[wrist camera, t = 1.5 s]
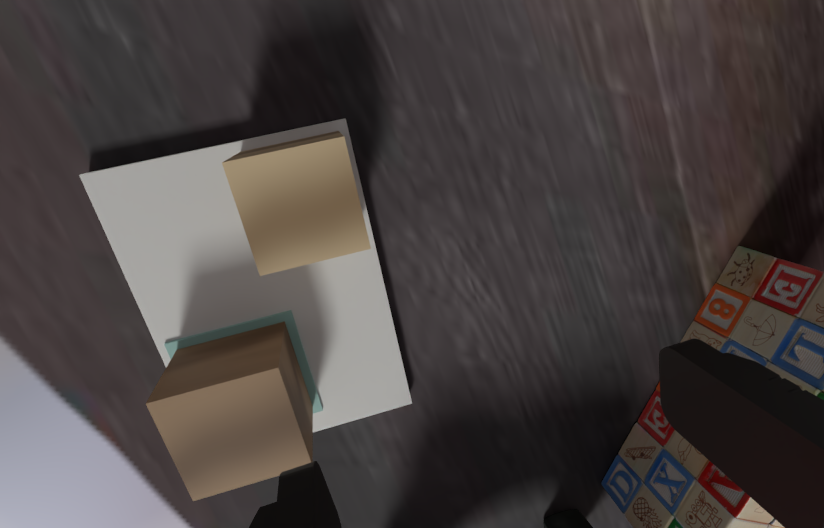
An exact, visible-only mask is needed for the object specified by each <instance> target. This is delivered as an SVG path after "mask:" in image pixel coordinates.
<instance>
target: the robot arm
mask: <svg viewBox="0 0 824 528" xmlns="http://www.w3.org/2000/svg"><path fill="white" fill-rule="evenodd" d="M659 373H660V401H661V407H662V410H663V413H664V415H665V417H666V419H667V421H668V422H669V424H670V425H671V426H672V427H673V428H674V429H675V430H676V431H677V432H678V433H679V434H680V435H681V436H682V437H683V438H684V439H686V440H687V441H688V442H689V443H690V444H691V445H692V446H693V447H695V448H696V449H697V450H698V451H699V452H700V453H701V454H702V455H704V456H705V457H706V458H707V459H708V460H709V461H710V462H711V463H713V464H714V465H715V466H716V467H717V468H718V469H719V470H720V471H722V472H723V473H724V474H725V475H726V476H727V477H728V478H729V479H731V480H732V481H733V482H734V483H735V484H736V485H737V486H738V487H740V488H741V489H742V490H743V491H744V492H745V493H746V494H747V495H749V496H750V497H751V498H752V499H753V500H754V501H755V502H756V503H758V504H759V505H760V506H761V507H762V508H763V509H764V510H766V511H767V512H768V513H769V514H770V515H771V516H772V517H773V518H775V519H776V520H777V521H778V522H779V523H780V524H781V525H782V526H784V527H785V528H824V400H822V399H821V398H819V397H817V396H815V395H814V394H812V393H810V392H808V391H807V390H804V391H803V390H801V388H800V386H798V385H796V384H794V383H793V382H791V381H789V380H787V379H786V378H783V379H782V378H781V377H780V375H779V374H777V373H775V372H773V371H772V370H770V369H768V368H766V367H765V366H763V365H761V364H759V363H758V362H756V361H753V360H750V359H746V358H743V357H740V356H737V355H734V354H731V353H722V352H720V351H719V350H717V349H715V348H714V347H712V346H710V345H708V344H707V343H705V342H703V341H702V340H699V339H690V340H687V341H684V342H681V343H678V344H675V345H672V346H668V347H665V348H663V349H662V350H661V351H660V354H659ZM249 528H341V523H340V519H339V516H338V513H337V510H336V507H335V505H334V502H333V500H332V497H331V494H330V492H329V489H328V487H327V484H326V481H325V479H324V476H323V474H322V471H321V468H320V466H319V464H318V463H317V461H314V462H311V463H308V464H305V465H302V466H299V467H296V468H293V469H290V470H287V471H284V472H281V474H280V477H279V486H278V496H277V502H275V503H272V504H269V505H266V506H263V507H260V508H259V510H258V512H257V514H256V515H255V517H254V519H253V521H252V523H251V525H250V526H249Z"/></svg>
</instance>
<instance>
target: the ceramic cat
mask: <svg viewBox="0 0 824 528" xmlns="http://www.w3.org/2000/svg"><path fill="white" fill-rule="evenodd" d="M544 528H593V527H592V526H591V525H590V523H589V522H588V521H587V520H586V518H585V517H584V516H583V515H582V514H581V513H580V512H579V511H578V510H576V509H574V510H569V511H564V512H560V513H557V514H554V515H551V516H549V517H547V518H545V519H544Z"/></svg>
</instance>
